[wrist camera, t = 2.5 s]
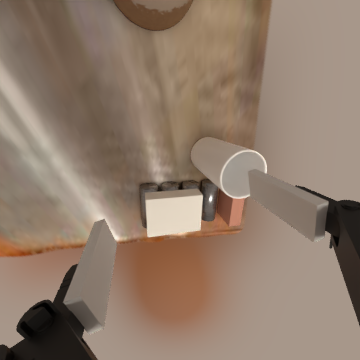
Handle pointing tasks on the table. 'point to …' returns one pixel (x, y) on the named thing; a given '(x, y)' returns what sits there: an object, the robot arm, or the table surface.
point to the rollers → (207, 189)
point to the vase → (154, 12)
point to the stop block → (230, 208)
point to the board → (173, 211)
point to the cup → (227, 165)
